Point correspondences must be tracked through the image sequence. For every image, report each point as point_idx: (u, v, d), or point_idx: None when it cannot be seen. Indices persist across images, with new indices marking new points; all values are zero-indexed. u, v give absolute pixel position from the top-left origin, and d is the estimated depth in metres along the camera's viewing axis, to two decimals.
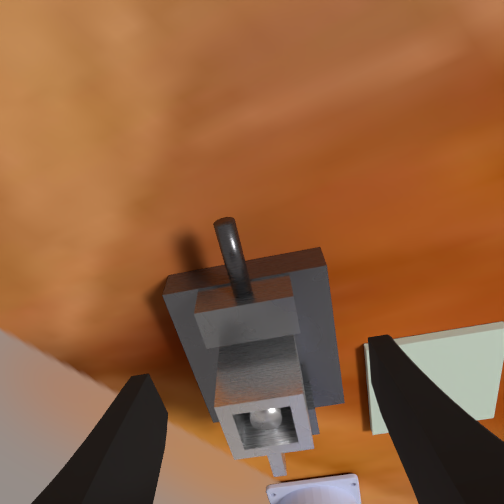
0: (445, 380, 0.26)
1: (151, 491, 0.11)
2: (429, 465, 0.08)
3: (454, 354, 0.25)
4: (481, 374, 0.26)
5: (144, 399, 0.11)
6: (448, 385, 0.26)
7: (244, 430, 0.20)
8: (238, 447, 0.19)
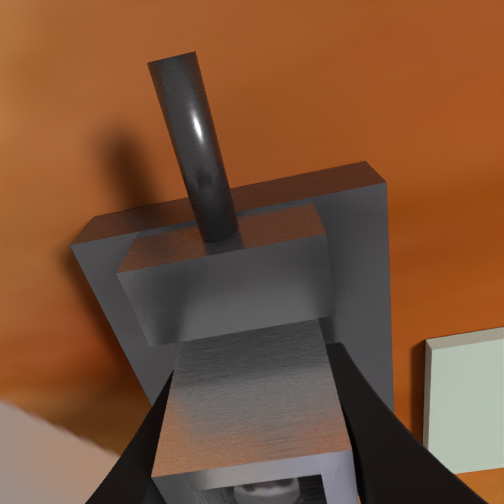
0: None
1: None
2: (362, 474, 0.08)
3: None
4: None
5: None
6: None
7: None
8: None
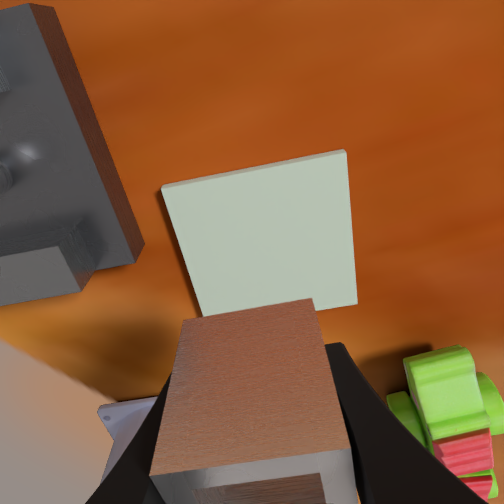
0: (281, 242, 0.20)
1: None
2: (362, 474, 0.08)
3: (282, 198, 0.19)
4: (326, 232, 0.20)
5: None
6: (286, 250, 0.20)
7: None
8: None
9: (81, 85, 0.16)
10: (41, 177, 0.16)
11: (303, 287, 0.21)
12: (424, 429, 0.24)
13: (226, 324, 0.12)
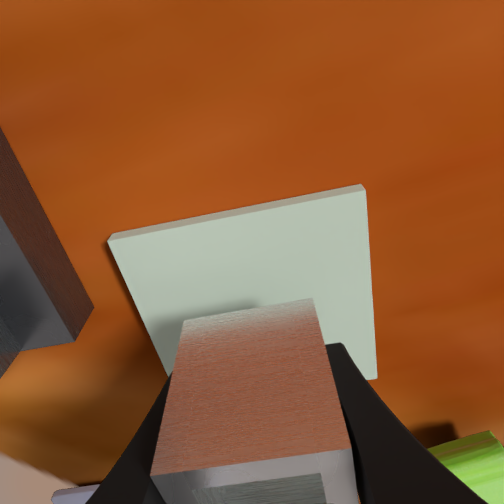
0: None
1: None
2: (361, 474, 0.08)
3: (276, 251, 0.13)
4: (336, 294, 0.14)
5: None
6: None
7: None
8: None
9: None
10: None
11: None
12: None
13: (226, 324, 0.12)
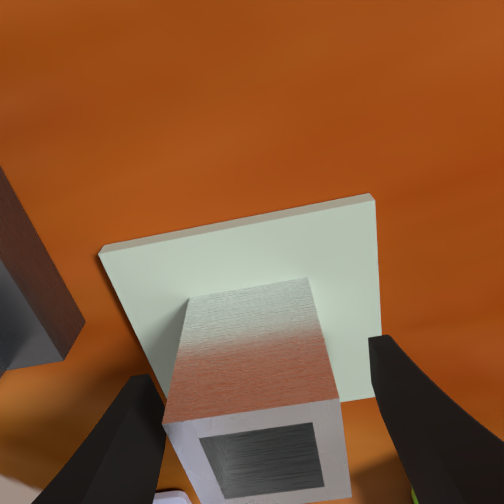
0: None
1: (151, 491, 0.11)
2: (429, 465, 0.08)
3: (278, 264, 0.13)
4: (342, 309, 0.14)
5: (144, 399, 0.11)
6: None
7: (226, 461, 0.11)
8: (213, 495, 0.10)
9: None
10: None
11: None
12: None
13: (229, 300, 0.13)
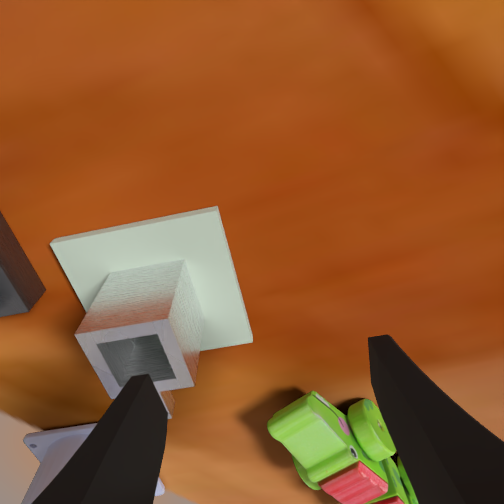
0: None
1: (151, 491, 0.11)
2: (429, 465, 0.08)
3: (164, 250, 0.20)
4: (211, 280, 0.21)
5: (144, 399, 0.11)
6: None
7: (124, 369, 0.19)
8: (112, 384, 0.18)
9: None
10: None
11: None
12: None
13: (133, 273, 0.20)
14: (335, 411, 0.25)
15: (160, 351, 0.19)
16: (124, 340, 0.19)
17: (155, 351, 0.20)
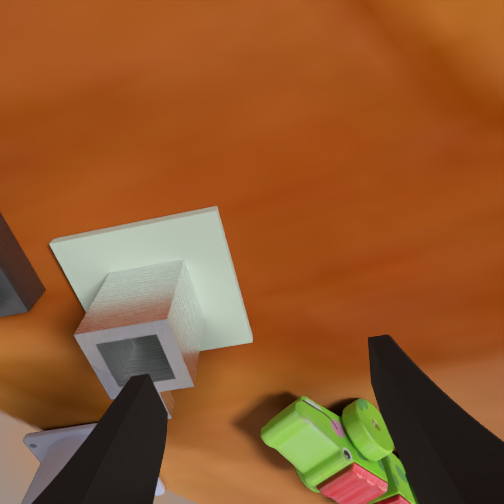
0: None
1: (151, 491, 0.11)
2: (429, 465, 0.08)
3: (164, 250, 0.20)
4: (211, 280, 0.21)
5: (144, 399, 0.11)
6: None
7: (124, 369, 0.19)
8: (111, 384, 0.18)
9: None
10: None
11: None
12: None
13: (132, 273, 0.20)
14: (327, 414, 0.25)
15: (160, 351, 0.19)
16: (124, 340, 0.19)
17: (155, 351, 0.20)
